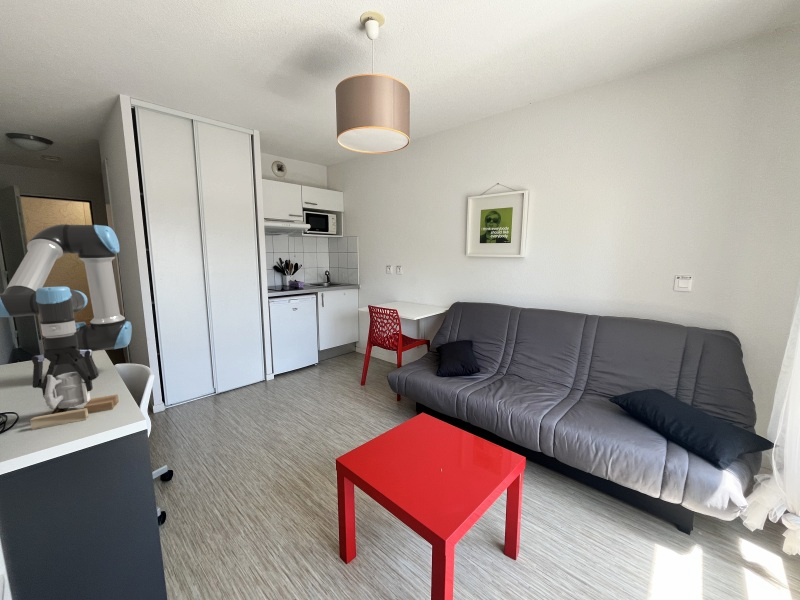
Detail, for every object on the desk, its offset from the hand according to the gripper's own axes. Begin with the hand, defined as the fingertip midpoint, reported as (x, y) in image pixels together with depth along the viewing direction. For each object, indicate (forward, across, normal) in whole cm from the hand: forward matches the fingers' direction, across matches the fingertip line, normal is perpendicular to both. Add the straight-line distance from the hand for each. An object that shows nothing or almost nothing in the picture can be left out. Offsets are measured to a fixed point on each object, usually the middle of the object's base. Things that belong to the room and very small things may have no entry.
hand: (70, 403), depth 106 cm
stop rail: (+3, 0, -8) cm, 9 cm away
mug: (+1, -1, 0) cm, 1 cm away
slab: (+4, +8, 0) cm, 8 cm away
